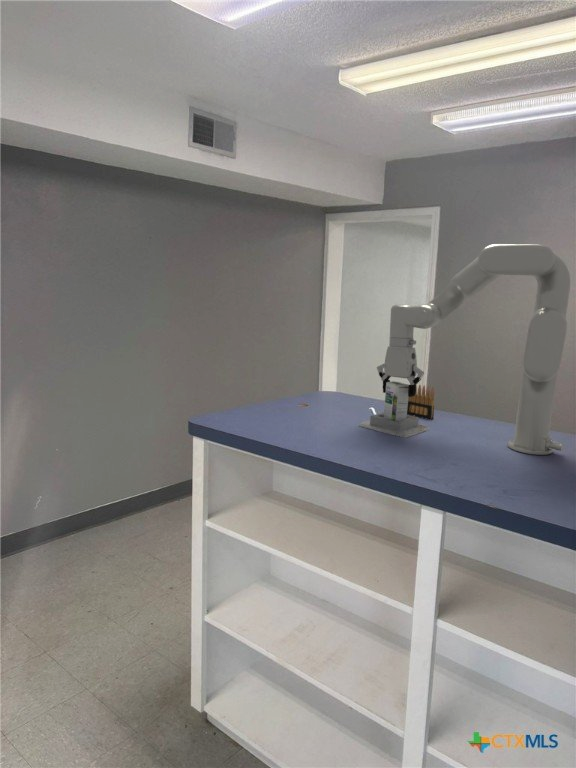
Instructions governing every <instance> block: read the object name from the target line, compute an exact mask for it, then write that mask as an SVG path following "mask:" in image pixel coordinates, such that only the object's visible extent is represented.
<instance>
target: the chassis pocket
mask: <svg viewBox="0 0 576 768" xmlns="http://www.w3.org/2000/svg"><path fill="white" fill-rule="evenodd" d="M383 416H384V411H383V412H380V413H375V414H373V415H370V420H366V421H362V422H359V423H358V427H361V428H365V429H369V430H373V431H377V432H380V433H385V434H387V433H388V434H389V435H392V436H395V435H396V437H399V436H400V437H399V438H403V439H406V438H410V437H412V436H415V435H419V434H421V433H424V432H427V431H429V430H430V427H429V426H426V425H421V424H419V418H420V417H416V416H412V415H408V414H407V417H406V419H404V420H401V421H396V420H392V419H388V418H383Z"/></svg>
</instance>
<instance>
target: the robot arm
mask: <svg viewBox="0 0 576 768" xmlns="http://www.w3.org/2000/svg"><path fill="white" fill-rule="evenodd" d="M503 275H504V276H531V277H534V278H535V280H536V283H537V287H536V288H537V289H536V296H535V303H534V307H533V312H532V317H531V319H530V320H529V323H528V329H527V336H526V340H525V341H526V343H525V348H524V352H523V353H524V355H523V359H522V371H521V372H522V373H521V381H520V388H519V395H518V401H517V402H518V405H517V410H516V411H517V412H516V417H515V419H516V421H515V428H514V435H513V439H510V440H508V442H507V447H509V448H510V449H511V450H513V451H516V452H520V453H524V454H527V455H528V454H529V455H538V456H540V455H541V456H545V455H550V454H552V453H553V452H554V451H555V450H556V451H561V452H563V451H564V450H563V449H564V444H563V443H562V442H558V441H554V440H553V436H552V435H550V431H551V425H552V418H553V409H554V402H555V397H556V396H555V395H556V389H557V383H558V382H557V381H558V374H559V373H558V372H559V371H560V368H561V364H562V363H561V362H562V358H563V352H564V347H565V341H566V335H567V329H568V322H567V310H568V304H569V299H570V291H571V275H570V271H569V269H568V266H567V264H566V263H565V262H564V260H563V259H562V258H561V257H560V256H558V255H557V254H556V253H555V252H554V251H553V250H552V249H551V248H550V247H549V246H548V245H545V244H538V243H537V244H536V243H528V244H525V243H524V244H523V243H522V244H519V243H518V244H517V243H515V244H511V243H510V244H509V243H508V244H507V243H505V244H504V243H502V244H501V243H493V244H488V245H487V246H485V247H484V248H483V249H482V250H481V251H480V252H479V254H478V256H477V257H476V258H475V259H474V260H472V261H471V262H470V263H469V264H467V266H465V267H464V268H462V270H460V271H459V272H457V273H456V274H455V275H454V276H453V277H452V278H451V280H450V281H449V283H448V285H447V286H446V287H445V288H444V289H443V290H442V291H441V292H440V293H439V294H438V295H436V296H435V297H434V298H433V299H431V300H430V301H429V302H428V303H426V304H420V305H410V304H394V305H392V307H391V309H390V323H389V324H390V325H389V342H388V343H389V346H387V349H386V352H385V353H386V354H385V357H384V363H383V364H380V365H378V366H377V367H376V370H377V373H378V376H379V377H380V378H381V381H382V393H386V383H387V382H391V380H390V379H391V378H400V379H407V380H408V382H409V384H408V385H409V388H408V396H409V397H412V396H415V393H416V385H417V384H418V383H420V381H421V380H422V378H423V376H424V375H425V372H424V371H423V370H422V369H420V368H419V367H418V358H417V352H416V347H413V346H415V345H416V344H417V340H415V339H414V330H415V329H414V328H416V329H423V330H424V329H425V330H426V329H427V330H428V329H431V328H433V327H435V326H437V325H438V324H440V323H442V321H444V320H445V319H446V318H448V317H449V316H450V315H452V314H453V313H454V312H455V311H457V310H458V309H459V308H460V307H462V306H463V305H464V304H466V303H467V302H468V301H470V300H471V299H472V298H473V297H475V296H476V295H477V294H479V293H480V292H481V291H482V290H483V289H484V288H486V287H487V286H489V285H490V284H492V283H493V282H494V281H495V280H496V279H498V278H499V277H500V276H503Z"/></svg>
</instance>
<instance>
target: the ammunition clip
mask: <svg viewBox="0 0 576 768" xmlns="http://www.w3.org/2000/svg"><path fill="white" fill-rule="evenodd" d="M434 389H435V388H434V386H432V387H431V389H430V385H428V386H427V388H426V386H425V384H424V385H423V386H421V384H419V385H418V386H417V384H416V393H415V396H412V397H409V396H408V407H407V415H408V414H409V415H411V416H412V415H415V417H416V416H418V417H419V418H421V417H423V418H422V419H425V418H427V419H426V420H430V419H431V420H433V419H434V413H435V412H434V411H435V404H434V403H435V402H434V401H435V398H434V397H435V390H434Z"/></svg>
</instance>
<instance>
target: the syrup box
mask: <svg viewBox="0 0 576 768" xmlns="http://www.w3.org/2000/svg"><path fill="white" fill-rule="evenodd" d="M409 385H410V384H409V383H407V384H406V383H404V382H400V381H394V380H392V381H390V382H387V383H386V393H385V395H384V405H383V406H384V407H383V412H384V416H383V418H388V419H392V420H396V421H401V420H404V419H406V417H407V415H408V414H407V407H408V388H409Z"/></svg>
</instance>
